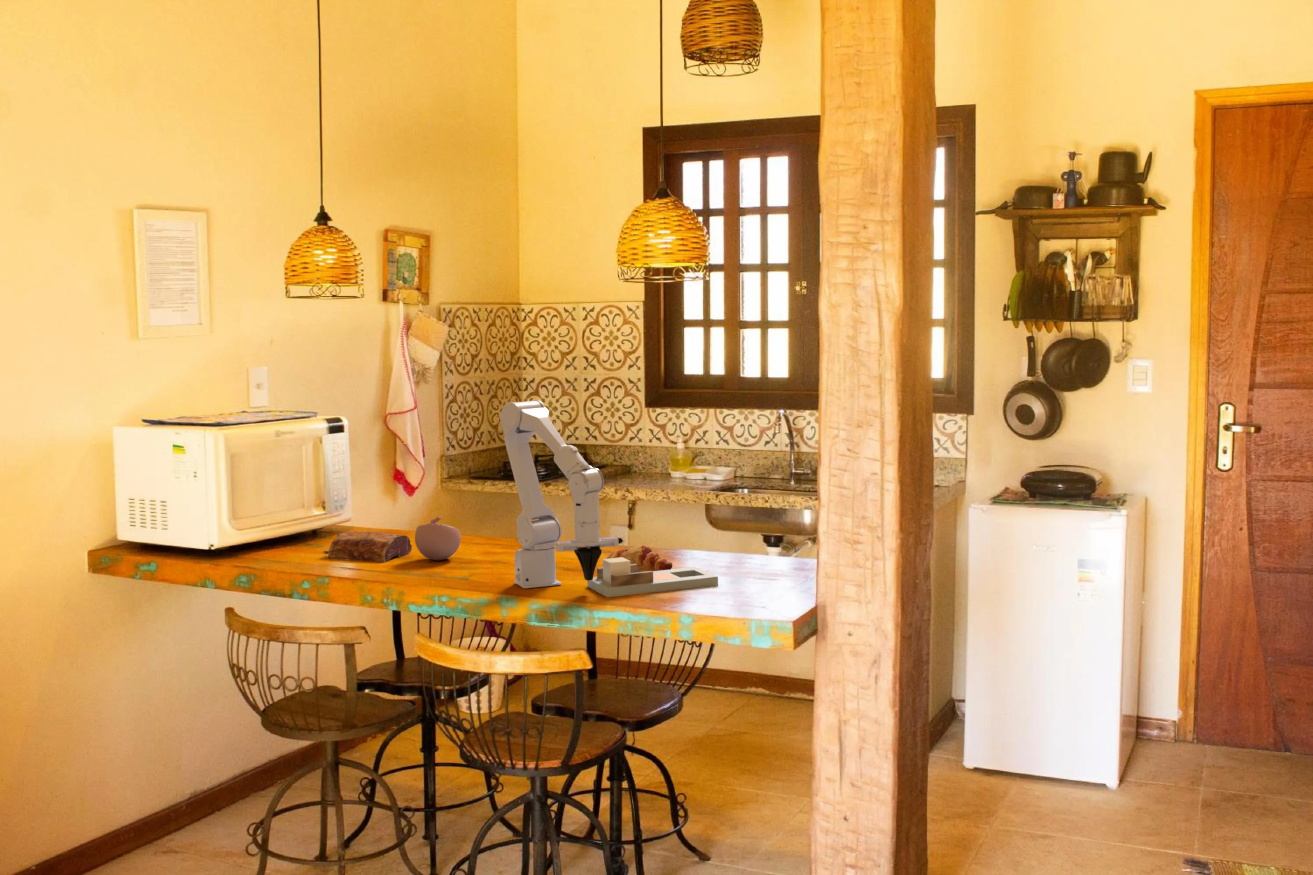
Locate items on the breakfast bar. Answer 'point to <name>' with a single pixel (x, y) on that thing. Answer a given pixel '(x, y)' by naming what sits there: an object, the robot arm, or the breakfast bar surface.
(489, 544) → the breakfast bar surface
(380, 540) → the cured meat
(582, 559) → the robot arm
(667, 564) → the croissant
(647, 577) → the parallel rails
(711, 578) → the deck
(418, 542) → the pink apple
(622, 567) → the cube
